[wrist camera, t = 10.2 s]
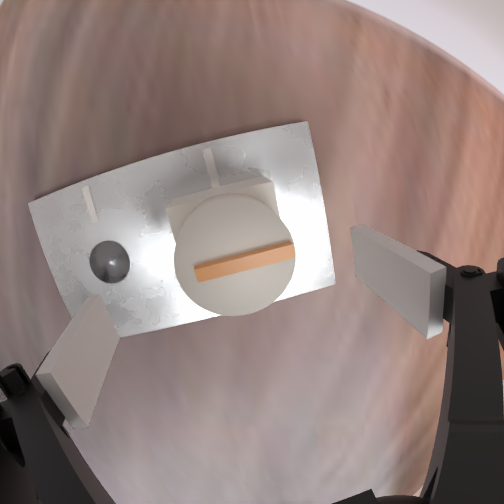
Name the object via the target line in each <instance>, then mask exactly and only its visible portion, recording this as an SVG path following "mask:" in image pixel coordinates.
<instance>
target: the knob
mask: <svg viewBox="0 0 504 504" xmlns="http://www.w3.org/2000/svg"><path fill="white" fill-rule="evenodd" d="M165 210H166V213H167V216H168V220H169V223H170V227H171V230H172V233H173V237H174V240H175V243H176V246H175V250H174V270H175V274H176V277H177V280H178V282H179V285H180V286H181V288H182V290H183V291H184V292H185V294H186V295H187V296H188V297H189V298H190V299H191V300H192V301H193V302H194V303H195V305H198V306H200V307H201V308H203V309H205V310H207V311H210V312H212V313H215V314H219V315H225V316H242V315H247V314H251V313H254V312H257V311H259V310H262V309H264V308H265V307H267V306H269V305H270V304H271V303H273V302H274V301H275V300H276V299H277V298H278V297H279V296H280V295H281V294H282V293H283V292H284V291H285V289H286V288H287V286H288V284H289V283H290V281H291V280H293V279H292V276H293V273H294V269H295V264H296V250H295V244H294V240H293V238H292V235H291V233H290V231H289V229H288V228H287V226H286V225H285V223H284V222H283V221H282V220H281V218H280V213H279V208H278V203H277V198H276V194H275V189H274V184H273V181H271V180H270V179H268V178H266V177H264V176H259V177H255V178H251V179H247V180H242V181H238V182H234V183H230V184H226V185H222V186H218V187H214V188H210V189H207V190H203V191H199V192H195V193H191V194H188V195H184V196H180V197H177V198H173V199H172V200H171V201H170V203H169V204H168V206H167V207H166V208H165Z"/></svg>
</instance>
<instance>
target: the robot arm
mask: <svg viewBox="0 0 504 504" xmlns="http://www.w3.org/2000/svg"><path fill="white" fill-rule="evenodd" d="M350 231H351V239H352V247H353V255H354V264H355V274H356V277H357V278H358V279H359V280H360V281H362V282H363V283H364V284H365V285H366V286H367V287H369V288H370V289H371V290H372V291H373V292H374V293H376V294H377V295H378V296H379V297H380V298H381V299H383V300H384V301H385V302H386V303H387V304H388V305H389V306H390V307H392V308H393V309H394V310H395V311H396V312H397V313H398V314H400V315H401V316H402V317H403V318H404V319H405V320H406V321H407V322H409V323H410V324H411V325H412V326H413V327H414V328H415V329H416V330H417V331H418V332H420V333H421V334H422V335H423V336H424V337H425V338H426V339H429V338H431V337H433V336H435V335H437V334H439V333H441V332H442V327H443V318H444V319H445V320H446V321H447V322H449V323H450V324H449V332H448V340H447V347H448V351H447V363H446V373H445V383H444V391H443V398H442V405H441V411H440V417H439V423H438V428H437V434H436V439H435V443H434V448H433V452H432V457H431V461H430V465H429V469H428V473H427V476H426V480H425V483H424V485H423V488H422V491H421V494H420V497H416V496H406V495H393V496H383V497H378V498H376V497H375V495H374V493H373V491H372V489H370V490H367V491H365V492H362V493H360V494H357V495H355V496H352V497H349V498H347V499H344V500H341V501H338V502H335V503H332V504H504V406H503V384H502V383H503V382H502V369H501V359H500V350H499V342H498V339H499V341H500V343H501V345H502V348H503V350H504V258H501V259H500V260H498V263H497V271H496V272H491V273H485V272H484V270H483V269H481V268H480V267H476V266H470V265H467V266H461V267H458V268H456V267H454V266H452V265H450V264H448V263H446V262H444V261H443V260H442V261H441V259H439V258H437V257H435V256H433V255H431V254H429V253H427V252H422V251H418V250H417V251H415V250H414V249H412V248H410V247H408V246H406V245H404V244H402V243H400V242H398V241H396V240H394V239H392V238H390V237H388V236H386V235H384V234H382V233H380V232H378V231H376V230H374V229H372V228H370V227H368V226H366V225H363V224H362V225H359V226H355V227H351V228H350ZM119 340H120V338H119V336H118V333H117V331H116V329H115V327H114V325H113V323H112V320H111V318H110V316H109V314H108V311H107V309H106V307H105V304H104V302H103V300H102V297H101V295H100V294H97V295H93V296H89V297H87V299H86V300H85V301H84V303H83V304H82V306H81V307H80V308H79V310H78V311H77V312H76V314H75V315H74V317H73V318H72V320H71V321H70V322H69V324H68V325H67V327H66V328H65V330H64V331H63V333H62V334H61V336H60V337H59V339H58V340H57V342H56V343H55V345H54V346H53V348H52V349H51V350H50V351H49V352H48V353H47V355H46V356H45V358H44V359H43V362H41V364H40V365H39V367H38V369H37V370H36V372H35V373H34V375H33V377H32V378H31V380H30V378H29V377H28V375H27V374H26V372H25V370H24V369H23V367H22V366H21V364H18V363H16V364H12V365H10V366H7V367H6V368H5V369H3V370H2V371H1V372H0V388H1V389H2V391H3V392H4V394H5V395H6V397H7V398H8V400H6V401H3V402H0V504H116V503H115V502H114V501H113V499H112V498H111V497H110V495H109V494H108V493H107V491H106V490H105V489H104V487H103V486H102V485H101V483H100V482H99V480H98V479H97V478H96V476H95V475H94V473H93V472H92V470H91V469H90V467H89V466H88V464H87V463H86V461H85V460H84V458H83V457H82V455H81V453H80V452H79V450H78V449H77V447H76V445H75V444H74V442H73V440H72V439H71V437H70V435H69V433H68V432H67V430H66V429H65V428H64V426H63V425H62V424H63V422H64V419H66V420H67V421H68V423H69V424H70V425H71V427H72V428H88V427H89V424H90V421H91V417H92V414H93V411H94V408H95V405H96V402H97V399H98V397H99V394H100V391H101V388H102V385H103V382H104V380H105V377H106V374H107V371H108V369H109V366H110V363H111V361H112V358H113V355H114V353H115V350H116V347H117V345H118V342H119Z"/></svg>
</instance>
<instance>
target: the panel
mask: <svg viewBox="0 0 504 504" xmlns="http://www.w3.org/2000/svg"><path fill="white" fill-rule="evenodd" d="M259 176H264V177H266V178H268V179H270V180H271V181H273V184H274V189H275V194H276V198H277V203H278V208H279V213H280V218H281V220H282V221H283V222H284V223H285V225H286V226H287V228H288V229H289V231H290V233H291V235H292V238H293V240H294V244H295V250H296V264H295V269H294V273H293V276H292V279H293V280H291V281H290V283H289V284H288V286H287V288H286V289H285V291H284V292H283V293H282V294H281V295H280V296H279V297H278V298H277V299H276V300H275V301H278V300H281V299H285V298H289V297H292V296H296V295H299V294H303V293H306V292H310V291H314V290H317V289H320V288H324V287H327V286H331V285H334V284H336V283H335V275H334V267H333V260H332V253H331V246H330V239H329V232H328V226H327V220H326V214H325V208H324V202H323V196H322V190H321V185H320V179H319V174H318V169H317V163H316V158H315V153H314V148H313V144H312V139H311V134H310V129H309V125H308V121H305V122H299V123H293V124H287V125H282V126H276V127H271V128H266V129H261V130H256V131H251V132H247V133H242V134H238V135H233V136H229V137H225V138H221V139H216V140H212V141H208V142H204V143H201V144H197V145H193V146H189V147H186V148H182V149H178V150H175V151H171V152H168V153H164V154H161V155H158V156H154V157H151V158H148V159H145V160H141V161H138V162H135V163H132V164H129V165H126V166H123V167H120V168H117V169H114V170H111V171H108V172H106V173H103V174H100V175H97V176H94V177H92V178H89V179H86V180H84V181H81V182H78V183H76V184H73V185H71V186H68V187H66V188H63V189H61V190H58V191H56V192H53V193H51V194H49V195H46V196H44V197H42V198H39V199H37V200H35V201H32V202H30V203H28V206H29V209H30V213H31V216H32V219H33V222H34V225H35V229H36V232H37V235H38V238H39V240H40V243H41V246H42V249H43V252H44V254H45V257H46V260H47V262H48V265H49V268H50V270H51V273H52V275H53V278H54V280H55V283H56V285H57V287H58V290H59V292H60V294H61V297H62V299H63V301H64V303H65V306H66V308H67V310H68V312H69V314H70V316H71V318H73V317H74V315H75V314H76V312H77V311H78V310H79V308H80V307H81V306H82V304H83V303H84V301H85V300H86V299H87V297H89V296H93V295H97V294H100V295H101V297H102V300H103V302H104V304H105V307H106V309H107V311H108V314H109V316H110V318H111V320H112V323H113V325H114V327H115V329H116V331H117V333H118V336H119V338H121V337H126V336H131V335H136V334H140V333H145V332H150V331H154V330H159V329H164V328H168V327H173V326H177V325H181V324H186V323H190V322H194V321H199V320H203V319H207V318H211V317H215V316H219V314H215V313H212V312H210V311H207V310H205V309H203V308H201V307H200V306H198V305H195V303H194V302H193V301H192V300H191V299H190V298H189V297H188V296H187V295H186V294H185V292H184V291H183V290H182V288H181V286H180V285H179V282H178V280H177V277H176V274H175V270H174V250H175V246H176V243H175V240H174V237H173V233H172V230H171V227H170V223H169V220H168V216H167V213H166V210H165V208H166V207H167V206H168V204H169V203H170V201H171V200H172V199H173V198H177V197H180V196H184V195H188V194H191V193H195V192H199V191H203V190H207V189H210V188H214V187H218V186H222V185H226V184H230V183H234V182H238V181H242V180H247V179H251V178H255V177H259Z"/></svg>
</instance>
